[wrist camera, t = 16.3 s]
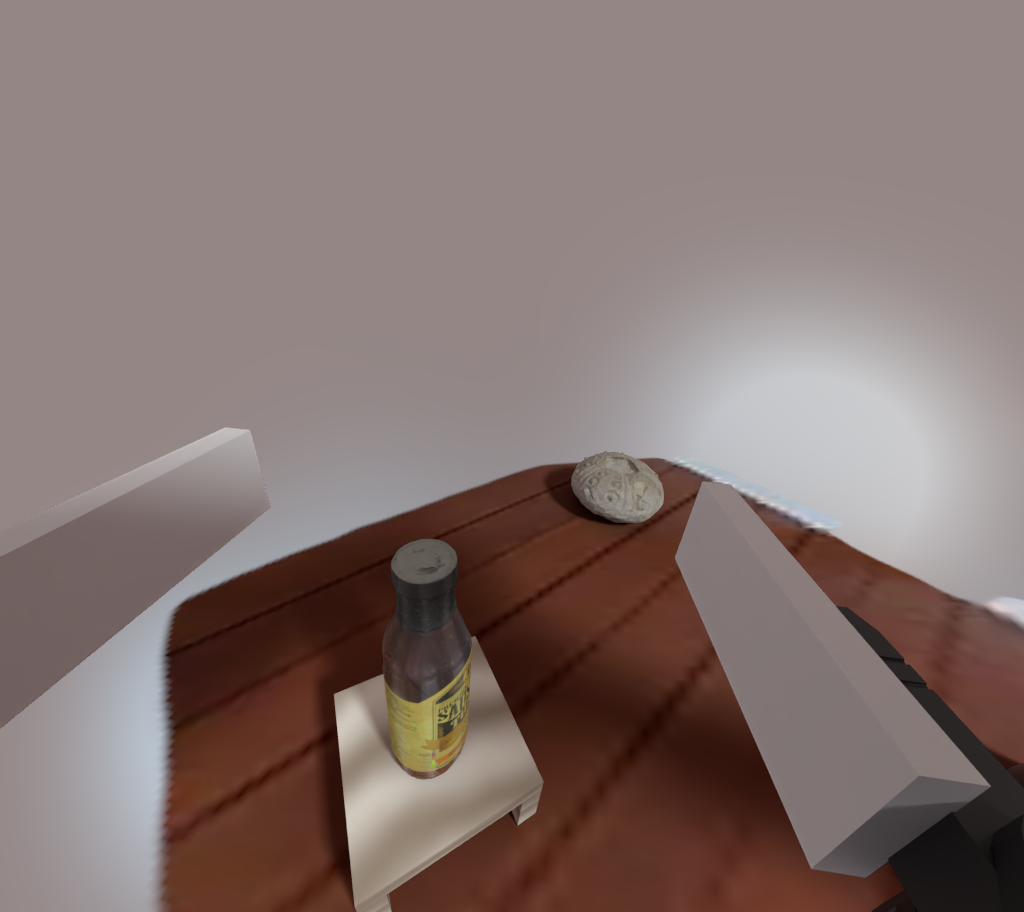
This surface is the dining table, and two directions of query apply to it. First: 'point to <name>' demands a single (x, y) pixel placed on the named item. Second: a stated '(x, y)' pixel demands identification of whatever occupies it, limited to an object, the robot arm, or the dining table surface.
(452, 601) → the sauce bottle
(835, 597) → the dining table surface
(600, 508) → the grey rounded lump
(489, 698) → the shelf stand
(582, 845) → the dining table surface
